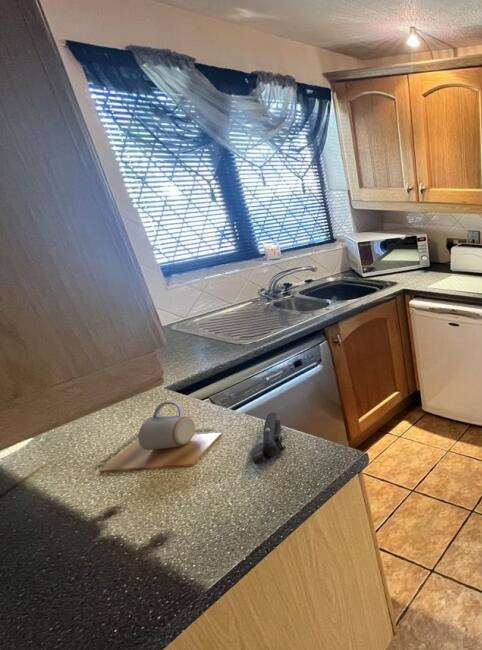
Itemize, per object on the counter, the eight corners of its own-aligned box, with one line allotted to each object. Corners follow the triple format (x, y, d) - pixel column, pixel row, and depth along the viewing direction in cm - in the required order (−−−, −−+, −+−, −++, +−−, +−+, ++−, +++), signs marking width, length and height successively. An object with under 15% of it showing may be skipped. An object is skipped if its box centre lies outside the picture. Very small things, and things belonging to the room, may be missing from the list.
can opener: (286, 460, 89) (281, 440, 87) (251, 470, 86) (245, 450, 84) (291, 418, 104) (286, 401, 102) (261, 425, 101) (256, 408, 99)
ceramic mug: (201, 433, 98) (179, 454, 91) (167, 435, 97) (142, 456, 90) (188, 398, 94) (164, 416, 87) (153, 400, 94) (126, 418, 87)
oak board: (99, 472, 87) (98, 470, 86) (139, 440, 97) (138, 438, 97) (193, 465, 88) (192, 463, 88) (222, 434, 98) (221, 432, 98)
